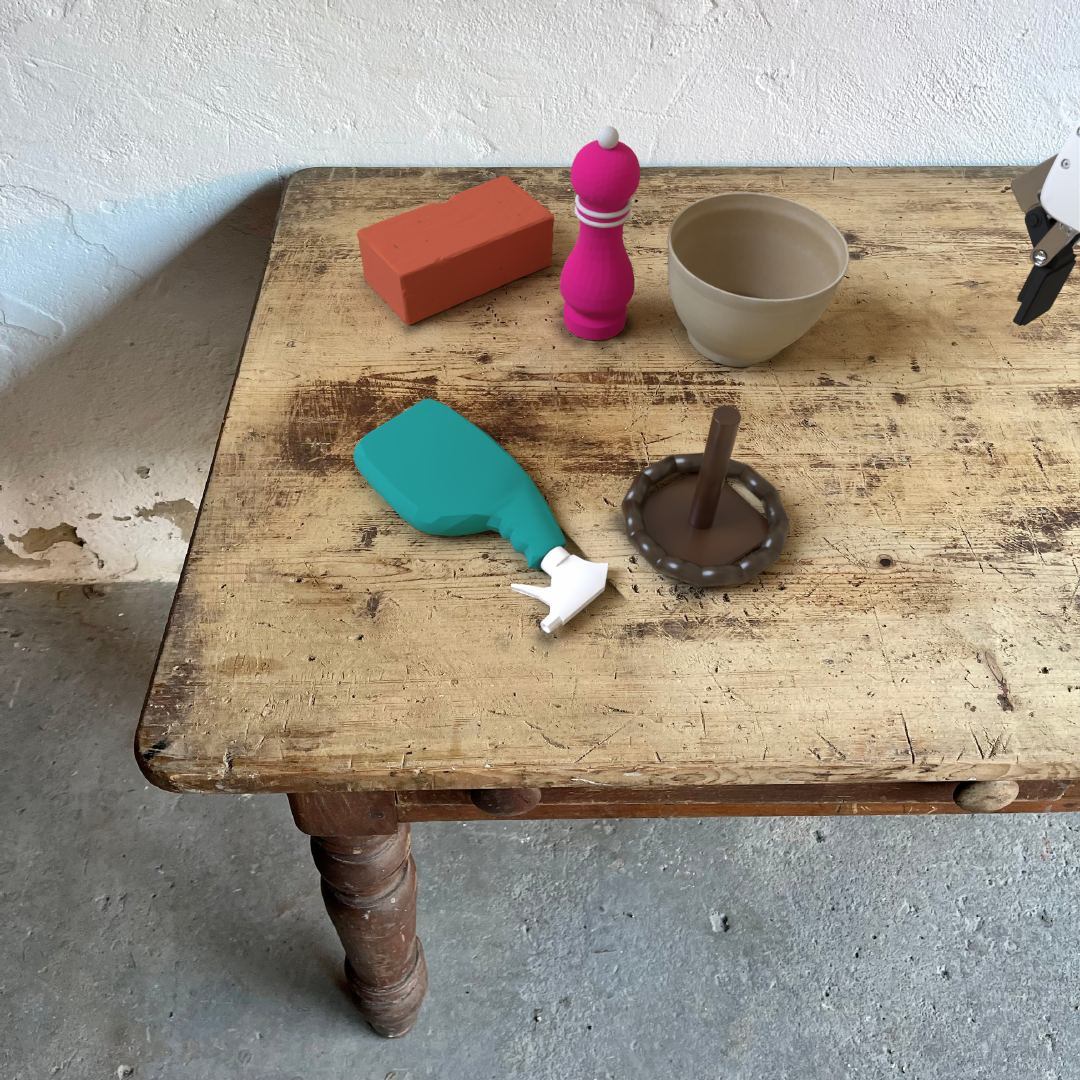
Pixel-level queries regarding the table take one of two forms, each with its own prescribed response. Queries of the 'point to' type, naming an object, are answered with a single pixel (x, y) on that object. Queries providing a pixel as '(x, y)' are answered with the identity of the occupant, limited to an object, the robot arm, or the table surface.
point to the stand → (706, 505)
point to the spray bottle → (474, 498)
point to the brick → (456, 248)
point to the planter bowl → (751, 273)
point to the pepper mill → (600, 239)
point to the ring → (690, 570)
